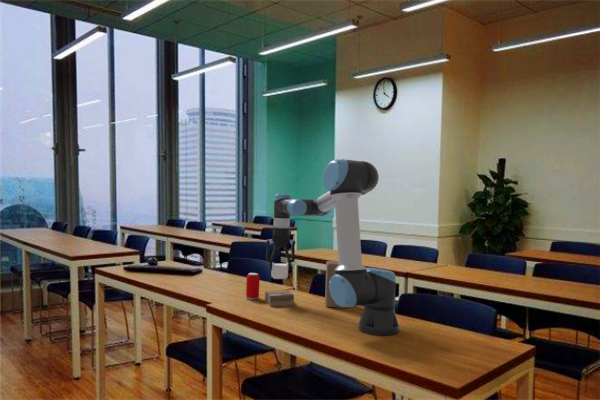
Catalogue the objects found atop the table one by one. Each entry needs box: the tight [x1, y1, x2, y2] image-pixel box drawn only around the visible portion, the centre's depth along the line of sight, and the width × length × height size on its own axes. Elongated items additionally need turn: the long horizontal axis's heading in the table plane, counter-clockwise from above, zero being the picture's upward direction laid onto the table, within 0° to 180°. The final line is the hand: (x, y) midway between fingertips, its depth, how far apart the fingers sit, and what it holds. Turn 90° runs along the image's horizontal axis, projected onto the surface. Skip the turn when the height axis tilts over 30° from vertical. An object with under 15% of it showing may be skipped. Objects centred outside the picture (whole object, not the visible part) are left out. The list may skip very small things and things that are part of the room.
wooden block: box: [324, 260, 348, 309], centre depth 211 cm, size 10×10×20 cm
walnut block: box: [264, 289, 295, 307], centre depth 212 cm, size 11×11×5 cm
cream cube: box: [272, 263, 288, 280], centre depth 212 cm, size 6×6×6 cm
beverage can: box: [245, 272, 260, 301], centre depth 220 cm, size 6×6×12 cm
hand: (279, 276), depth 212 cm, fingers closed on cream cube, 6 cm apart
